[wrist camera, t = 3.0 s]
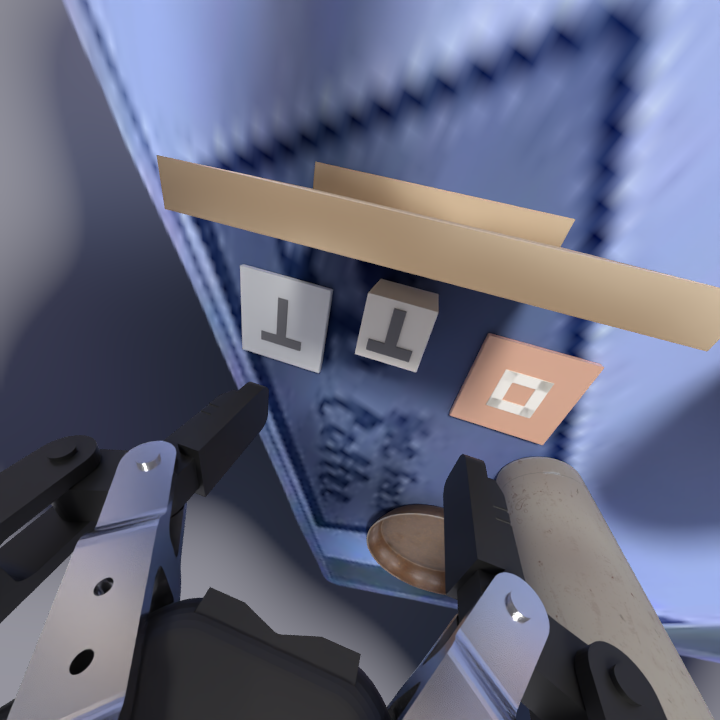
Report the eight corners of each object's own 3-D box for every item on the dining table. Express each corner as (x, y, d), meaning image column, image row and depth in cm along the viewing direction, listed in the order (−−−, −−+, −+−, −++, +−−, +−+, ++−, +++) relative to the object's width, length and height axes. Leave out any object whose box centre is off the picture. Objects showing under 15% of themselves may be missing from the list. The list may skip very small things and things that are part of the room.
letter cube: (381, 278, 23) (367, 293, 19) (438, 293, 22) (438, 312, 18) (368, 332, 26) (353, 356, 21) (419, 347, 25) (415, 375, 21)
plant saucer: (371, 554, 44) (367, 576, 41) (369, 481, 36) (364, 502, 33) (488, 584, 40) (492, 610, 37) (516, 509, 32) (523, 536, 29)
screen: (319, 163, 20) (146, 86, 8) (569, 219, 18) (832, 225, 6) (312, 235, 23) (172, 256, 11) (531, 291, 21) (661, 397, 9)
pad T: (244, 264, 25) (239, 265, 25) (333, 289, 24) (330, 291, 24) (245, 346, 30) (241, 349, 29) (321, 370, 29) (318, 373, 28)
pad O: (488, 332, 23) (489, 335, 22) (600, 364, 22) (605, 368, 21) (449, 411, 27) (449, 416, 27) (540, 440, 26) (542, 446, 26)
